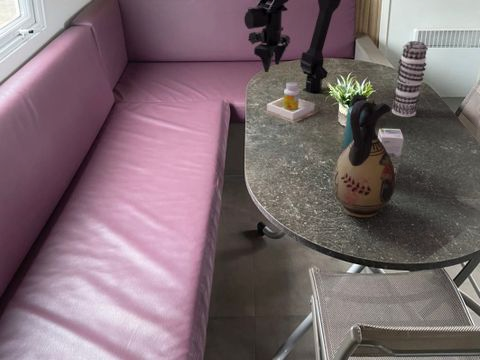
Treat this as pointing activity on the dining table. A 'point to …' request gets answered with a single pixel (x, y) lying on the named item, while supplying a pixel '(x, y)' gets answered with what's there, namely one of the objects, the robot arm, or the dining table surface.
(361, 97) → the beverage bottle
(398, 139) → the syrup box
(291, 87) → the supplement bottle
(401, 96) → the white banded cylinder
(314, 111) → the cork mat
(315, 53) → the robot arm
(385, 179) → the ceramic jug
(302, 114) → the dish
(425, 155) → the dining table surface
